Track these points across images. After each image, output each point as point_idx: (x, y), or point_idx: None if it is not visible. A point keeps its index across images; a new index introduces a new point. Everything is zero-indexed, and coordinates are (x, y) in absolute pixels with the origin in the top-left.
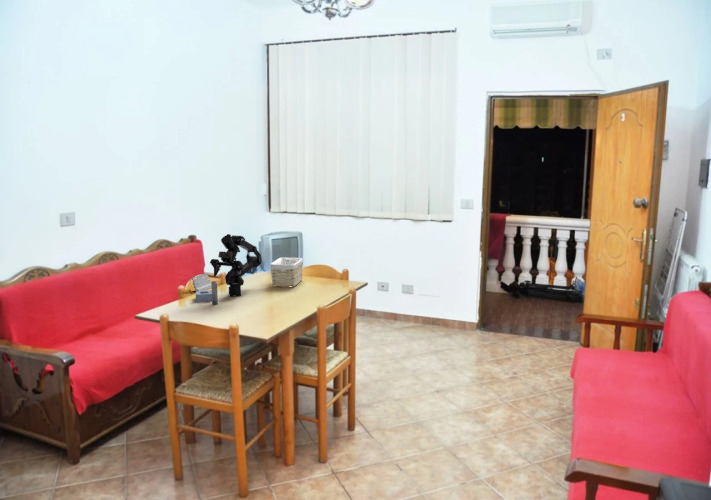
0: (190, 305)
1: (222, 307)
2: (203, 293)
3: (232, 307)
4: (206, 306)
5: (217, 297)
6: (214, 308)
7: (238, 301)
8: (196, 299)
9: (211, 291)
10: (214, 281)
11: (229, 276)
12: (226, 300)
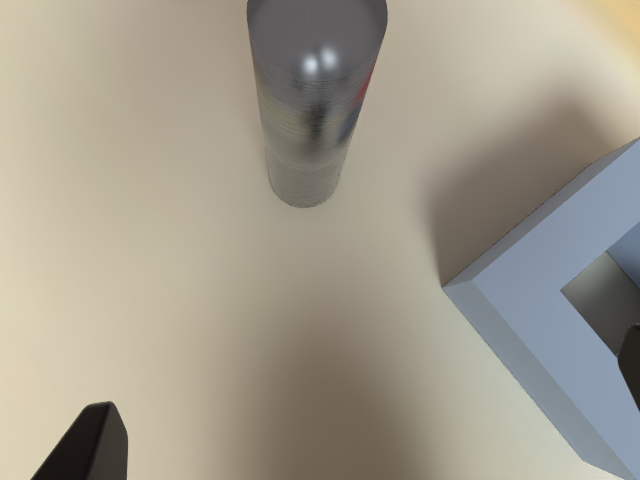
0: (524, 14)
1: (123, 96)
2: (610, 244)
3: (6, 147)
4: None
5: (268, 160)
6: (183, 24)
7: None
8: (602, 159)
9: (599, 405)
10: (330, 39)
11: (77, 432)
12: (297, 396)
